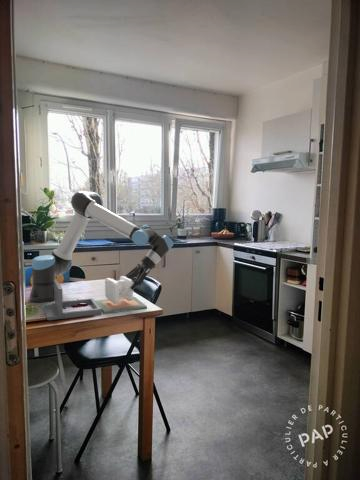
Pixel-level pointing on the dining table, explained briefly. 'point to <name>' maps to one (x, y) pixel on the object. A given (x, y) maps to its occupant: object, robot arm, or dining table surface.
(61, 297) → the grey tray holder
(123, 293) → the cable organizer
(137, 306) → the plate
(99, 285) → the dining table surface
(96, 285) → the dining table surface
